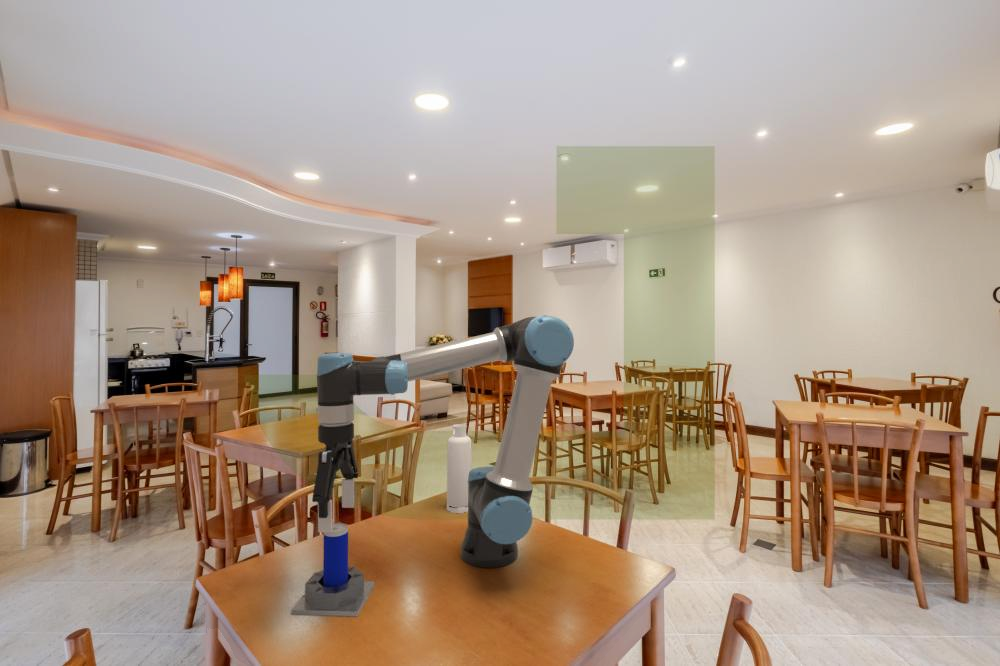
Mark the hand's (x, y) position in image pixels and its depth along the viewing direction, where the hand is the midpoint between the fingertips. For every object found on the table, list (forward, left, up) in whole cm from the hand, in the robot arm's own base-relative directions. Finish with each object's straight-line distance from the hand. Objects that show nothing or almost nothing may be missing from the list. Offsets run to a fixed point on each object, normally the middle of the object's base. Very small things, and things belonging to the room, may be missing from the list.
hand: (337, 518), depth 106 cm
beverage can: (0, 0, -17) cm, 17 cm away
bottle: (-21, -55, -18) cm, 61 cm away
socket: (0, 0, -18) cm, 18 cm away
